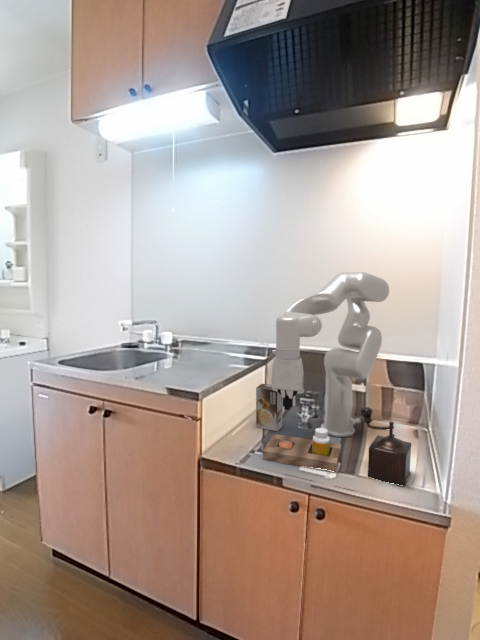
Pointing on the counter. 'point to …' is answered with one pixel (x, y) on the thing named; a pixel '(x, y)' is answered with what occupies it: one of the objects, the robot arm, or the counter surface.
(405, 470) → the manual coffee grinder
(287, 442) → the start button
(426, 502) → the counter surface
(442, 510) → the counter surface
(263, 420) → the coffee box
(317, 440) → the supplement bottle
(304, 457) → the board
